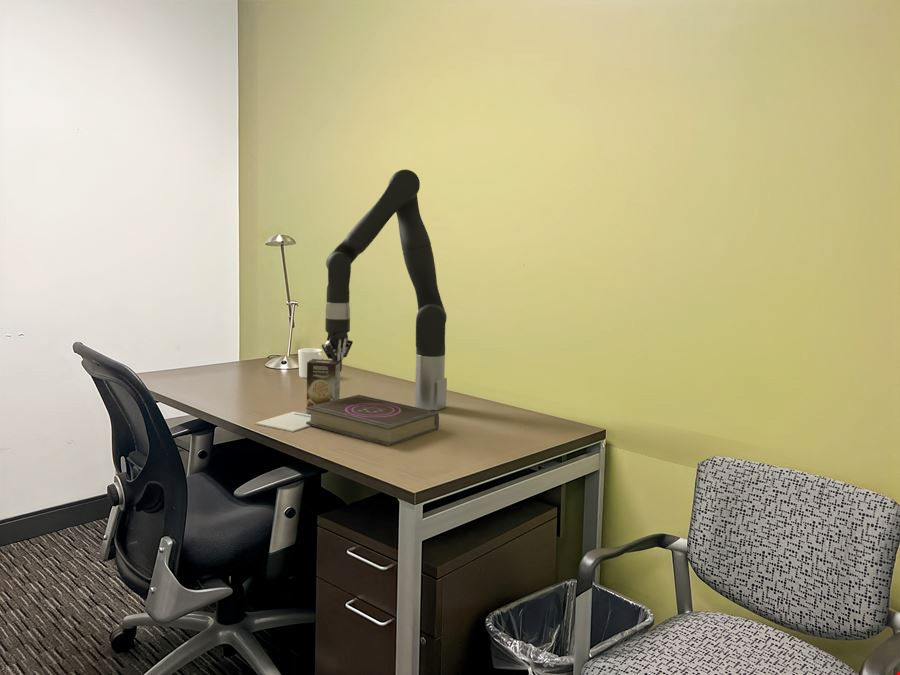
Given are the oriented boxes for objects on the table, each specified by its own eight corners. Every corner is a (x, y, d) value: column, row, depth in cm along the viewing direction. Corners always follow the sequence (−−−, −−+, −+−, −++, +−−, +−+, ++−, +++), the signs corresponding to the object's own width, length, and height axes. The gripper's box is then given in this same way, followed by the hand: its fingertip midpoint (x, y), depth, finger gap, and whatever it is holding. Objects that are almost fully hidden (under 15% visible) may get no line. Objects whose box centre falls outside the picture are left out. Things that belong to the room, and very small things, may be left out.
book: (306, 424, 197) (306, 407, 196) (359, 409, 215) (359, 394, 214) (388, 446, 179) (388, 427, 179) (438, 428, 197) (439, 411, 197)
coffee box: (305, 414, 209) (305, 362, 207) (311, 409, 215) (311, 358, 213) (335, 416, 208) (335, 363, 206) (340, 410, 215) (340, 359, 212)
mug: (293, 376, 264) (293, 350, 263) (310, 373, 271) (310, 347, 270) (313, 380, 258) (313, 353, 256) (330, 377, 265) (330, 350, 264)
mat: (329, 419, 204) (329, 418, 204) (292, 432, 190) (293, 430, 190) (293, 412, 210) (293, 411, 210) (255, 424, 196) (255, 422, 196)
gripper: (333, 319, 206) (333, 376, 209) (360, 316, 218) (359, 370, 220) (314, 317, 210) (313, 373, 212) (341, 314, 221) (340, 367, 224)
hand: (337, 371), depth 216 cm, fingers closed
